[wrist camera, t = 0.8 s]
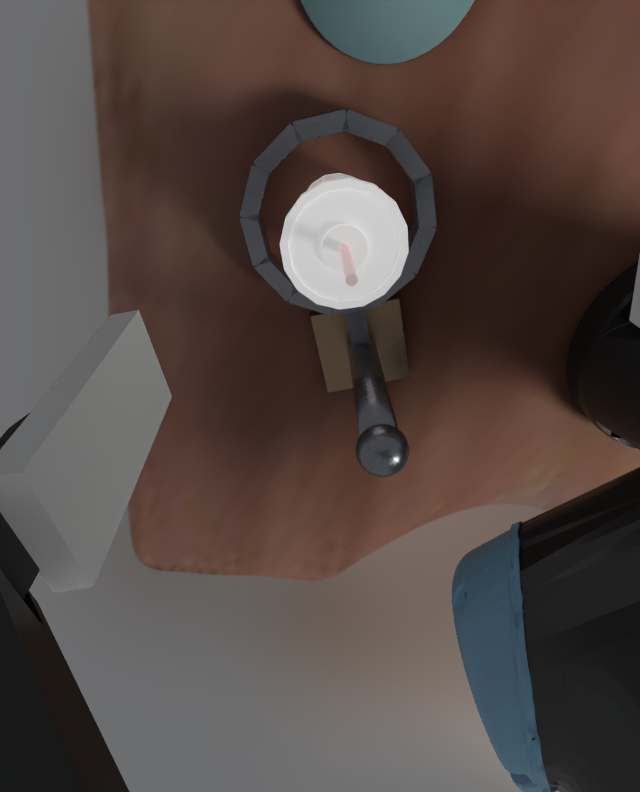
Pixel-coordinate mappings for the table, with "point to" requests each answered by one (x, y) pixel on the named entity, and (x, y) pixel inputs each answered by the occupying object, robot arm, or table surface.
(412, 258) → the ring stand
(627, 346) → the robot arm
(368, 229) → the beverage cup
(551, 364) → the table surface
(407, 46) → the coaster
